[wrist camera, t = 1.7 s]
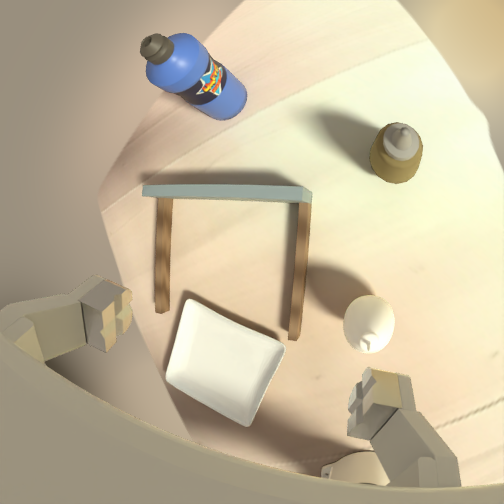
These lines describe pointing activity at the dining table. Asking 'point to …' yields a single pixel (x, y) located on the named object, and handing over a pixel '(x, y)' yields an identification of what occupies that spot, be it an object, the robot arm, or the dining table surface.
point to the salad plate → (222, 362)
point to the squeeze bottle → (396, 153)
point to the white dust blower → (368, 323)
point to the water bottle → (193, 75)
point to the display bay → (230, 193)
